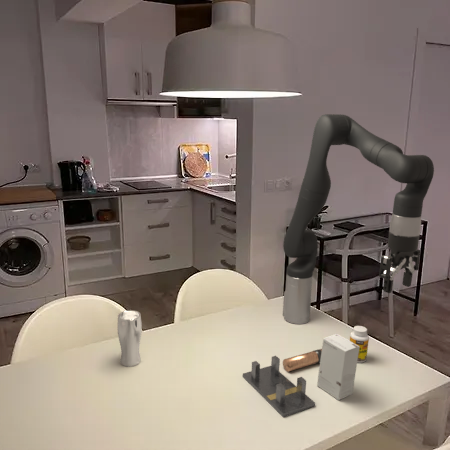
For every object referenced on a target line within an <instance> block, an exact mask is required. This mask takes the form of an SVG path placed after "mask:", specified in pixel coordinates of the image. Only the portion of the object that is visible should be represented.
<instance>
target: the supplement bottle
mask: <svg viewBox="0 0 450 450" xmlns="http://www.w3.org/2000/svg"><path fill="white" fill-rule="evenodd" d="M349 340H350V341H351V342H353V343H354V344H356V345H358V346H359V353H358V360H357V364H358V363H360V364H361V363H364V362H366V361H367V357H368V350H369V349H368V348H369V341H370V336H369V334H368V328H366V327H365V326H362V325H354V327H353V330H352V331H351V332H350V335H349Z"/></svg>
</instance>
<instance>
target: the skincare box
mask: <svg viewBox="0 0 450 450" xmlns="http://www.w3.org/2000/svg"><path fill="white" fill-rule="evenodd" d="M321 349H322V352H321V360H320V362H319V369H318V375H317V383H316V386H317V387H319V389H322V390H323V391H324V392H326V393H328V395H331V396H332V397H333V398H335V399H336V400H337V401H340V400H342V399H345V398H346V397H350V396H351V395H353V393H354V392H353V391H354V385H355V379H356V372H357V366H358V362H357V360H358V353H359V346H358V345H356V344H354V343H353V342H351V341H350V339H348V338H346V337H344V336H342V335H340V334H338V333H334V334H332V335H329V336H326V337H323V338H322V346H321Z"/></svg>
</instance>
